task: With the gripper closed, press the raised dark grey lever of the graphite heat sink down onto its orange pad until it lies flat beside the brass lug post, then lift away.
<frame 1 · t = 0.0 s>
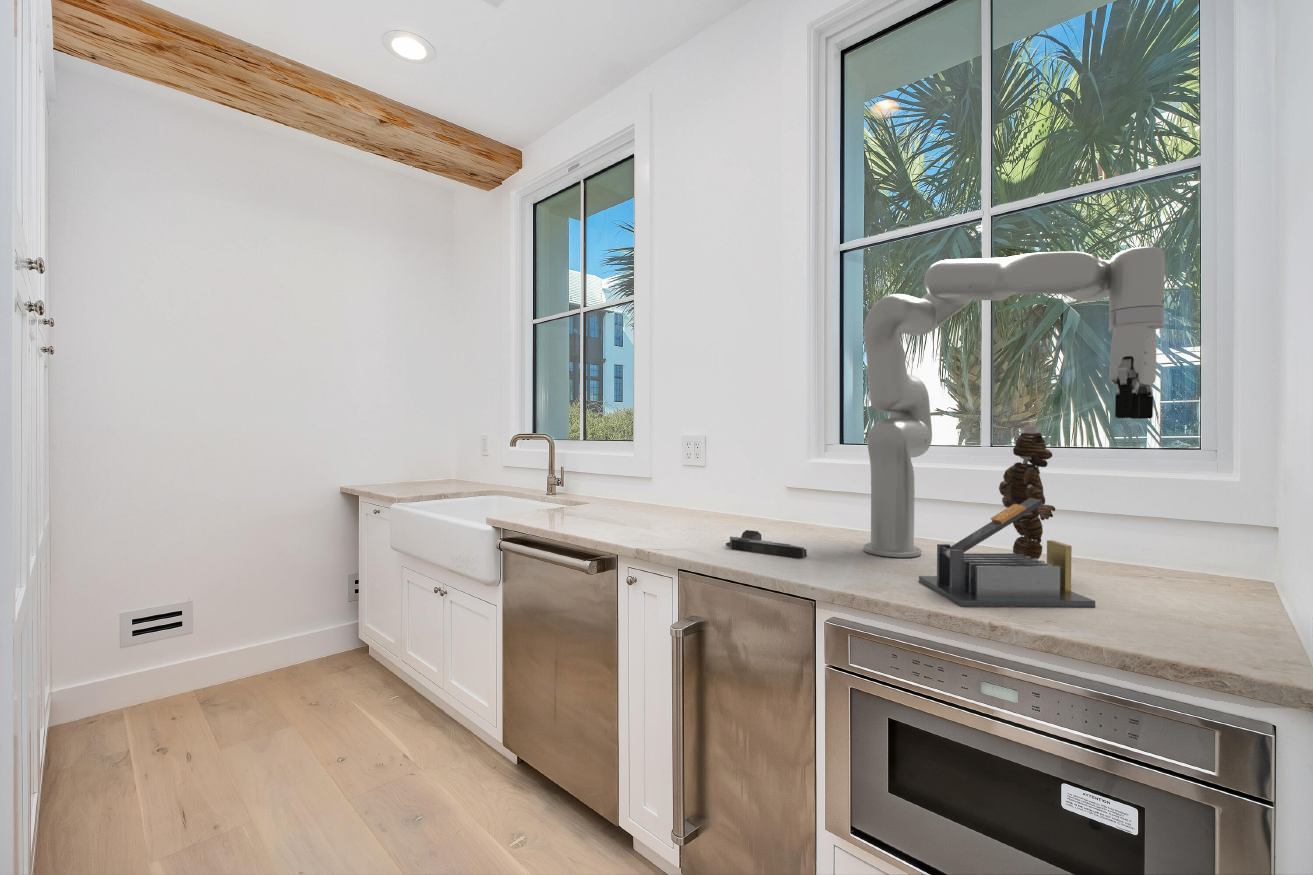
hand: (1134, 418, 104), 31 cm above the countertop, tool pointing down, fingers open, 9 cm apart
dark grey lever: (991, 527, 105), point 12 cm above the countertop, hinge at -32.0°
toy: (1028, 572, 121), on the countertop
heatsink: (1000, 593, 105), on the countertop
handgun: (770, 551, 144), on the countertop
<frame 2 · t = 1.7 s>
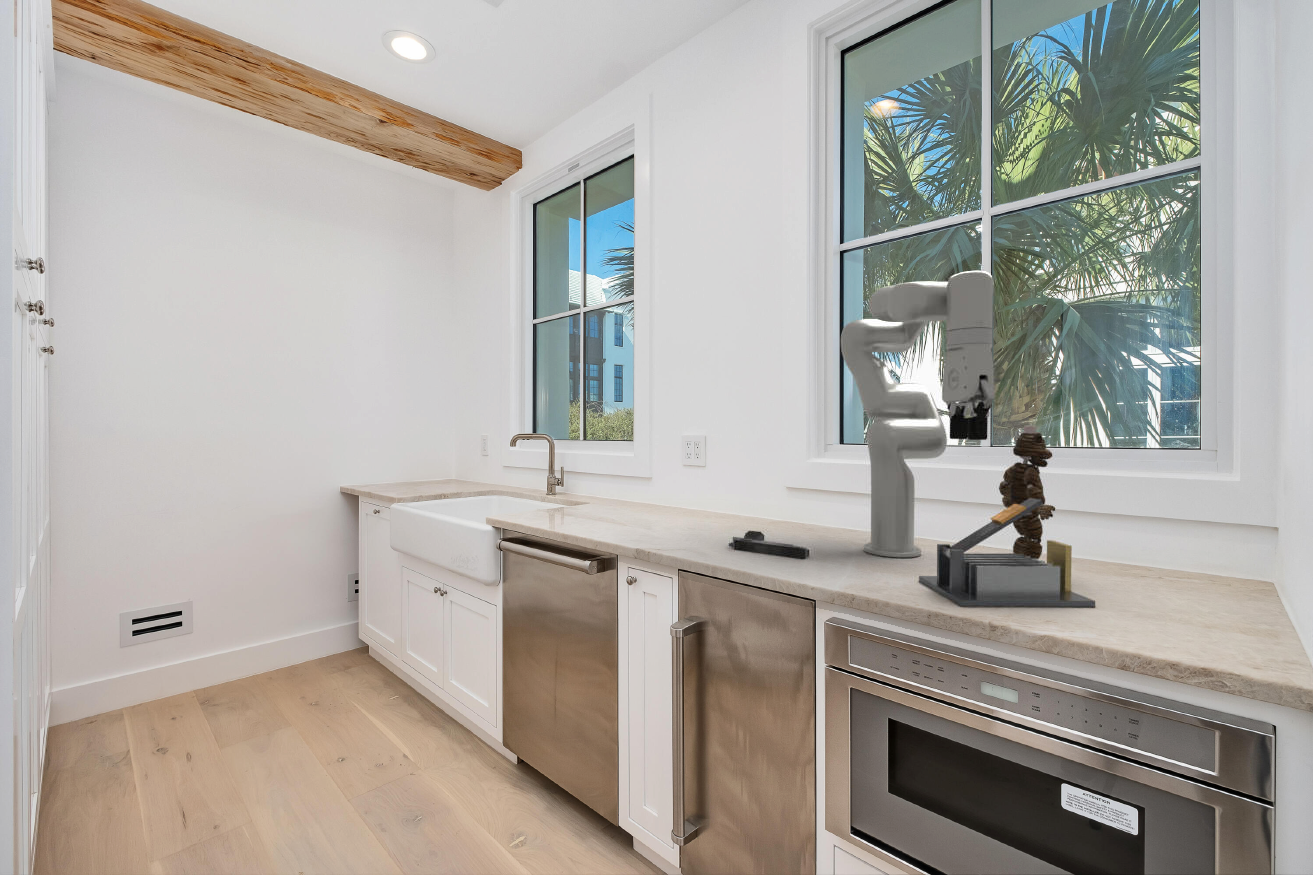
hand: (967, 438, 109), 28 cm above the countertop, tool pointing down, fingers open, 5 cm apart
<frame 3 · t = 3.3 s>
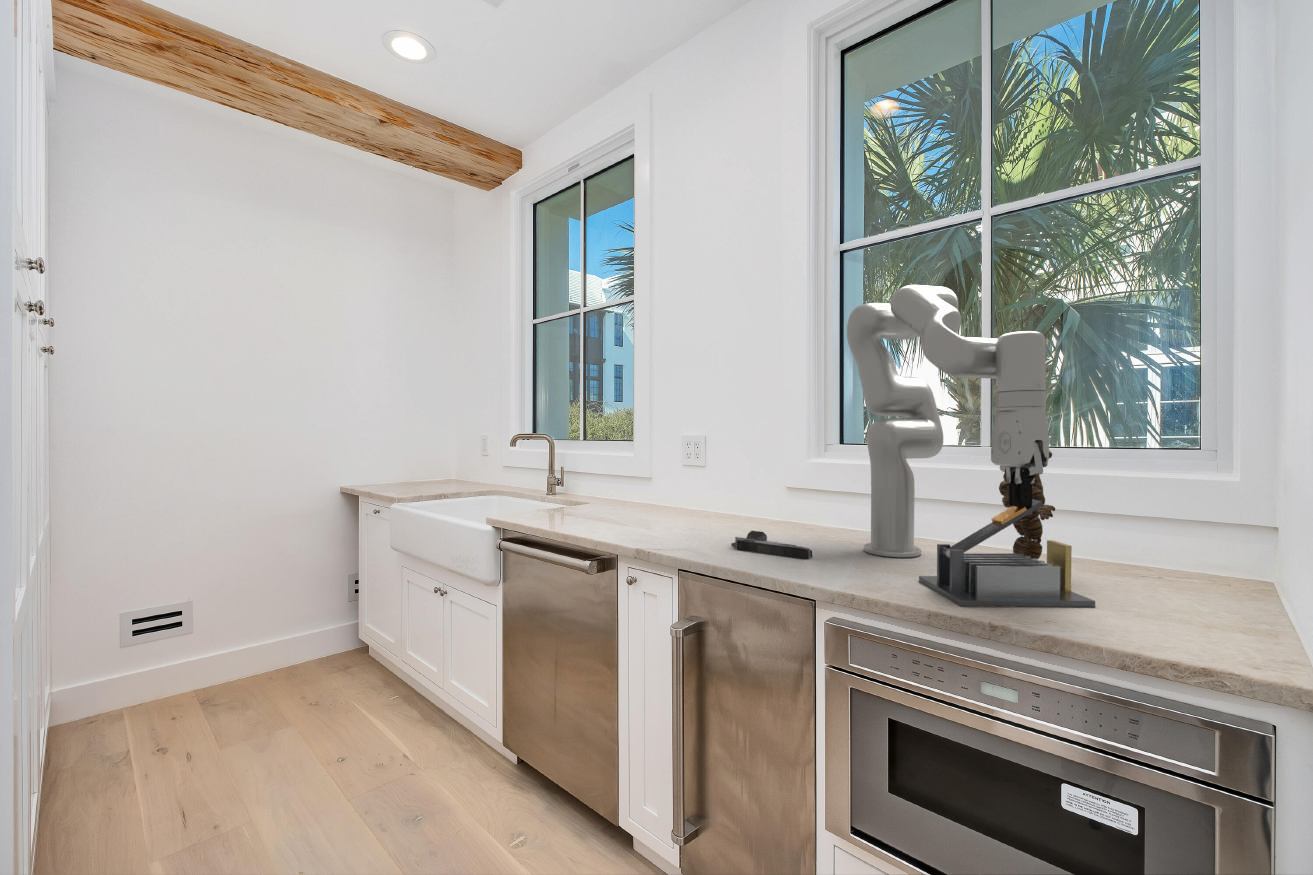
hand: (1020, 505, 105), 16 cm above the countertop, tool pointing down, fingers closed
dark grey lever: (991, 528, 105), point 12 cm above the countertop, hinge at -31.2°, touching gripper
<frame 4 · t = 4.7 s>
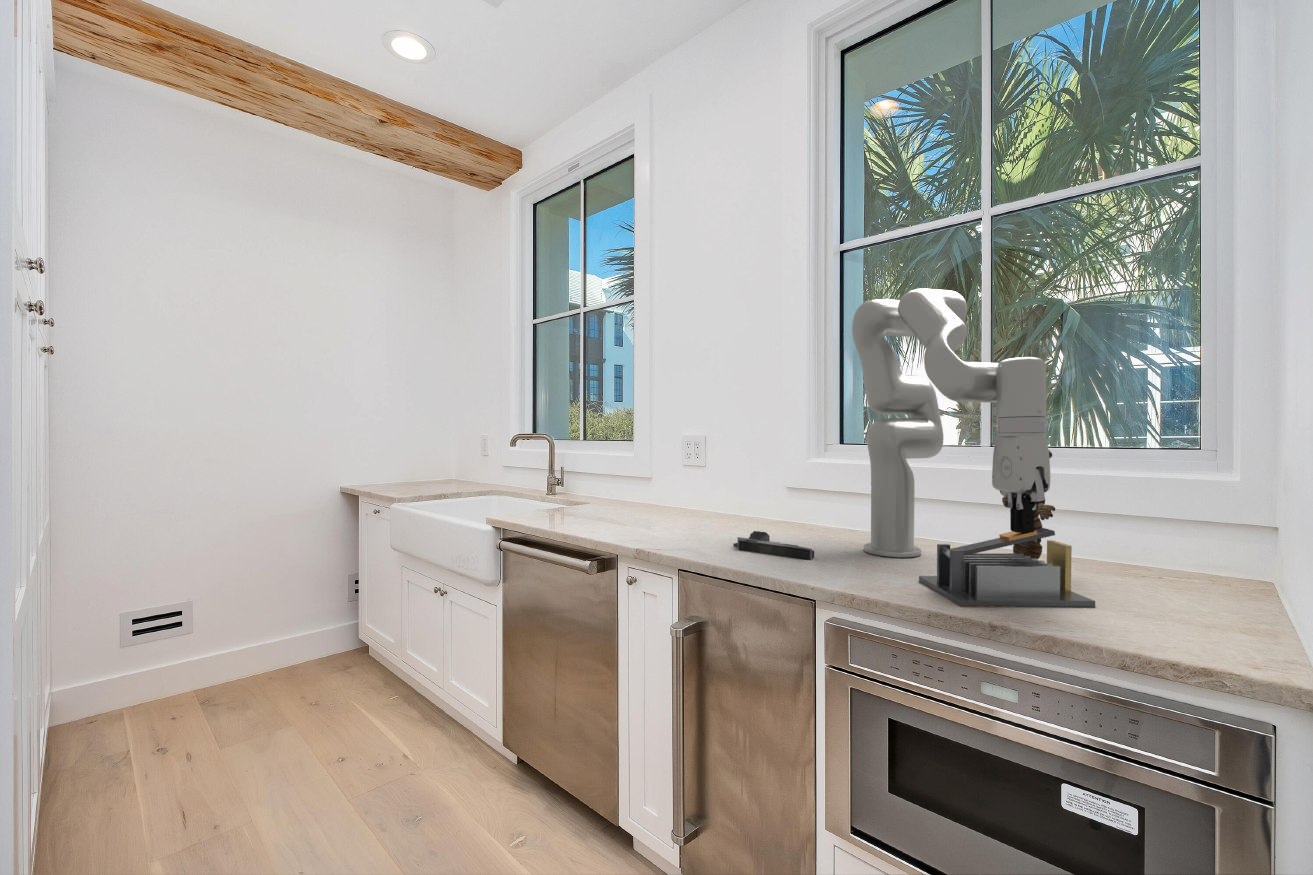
hand: (1022, 531, 104), 11 cm above the countertop, tool pointing down, fingers closed
dark grey lever: (997, 542, 105), point 9 cm above the countertop, hinge at -13.0°, touching gripper
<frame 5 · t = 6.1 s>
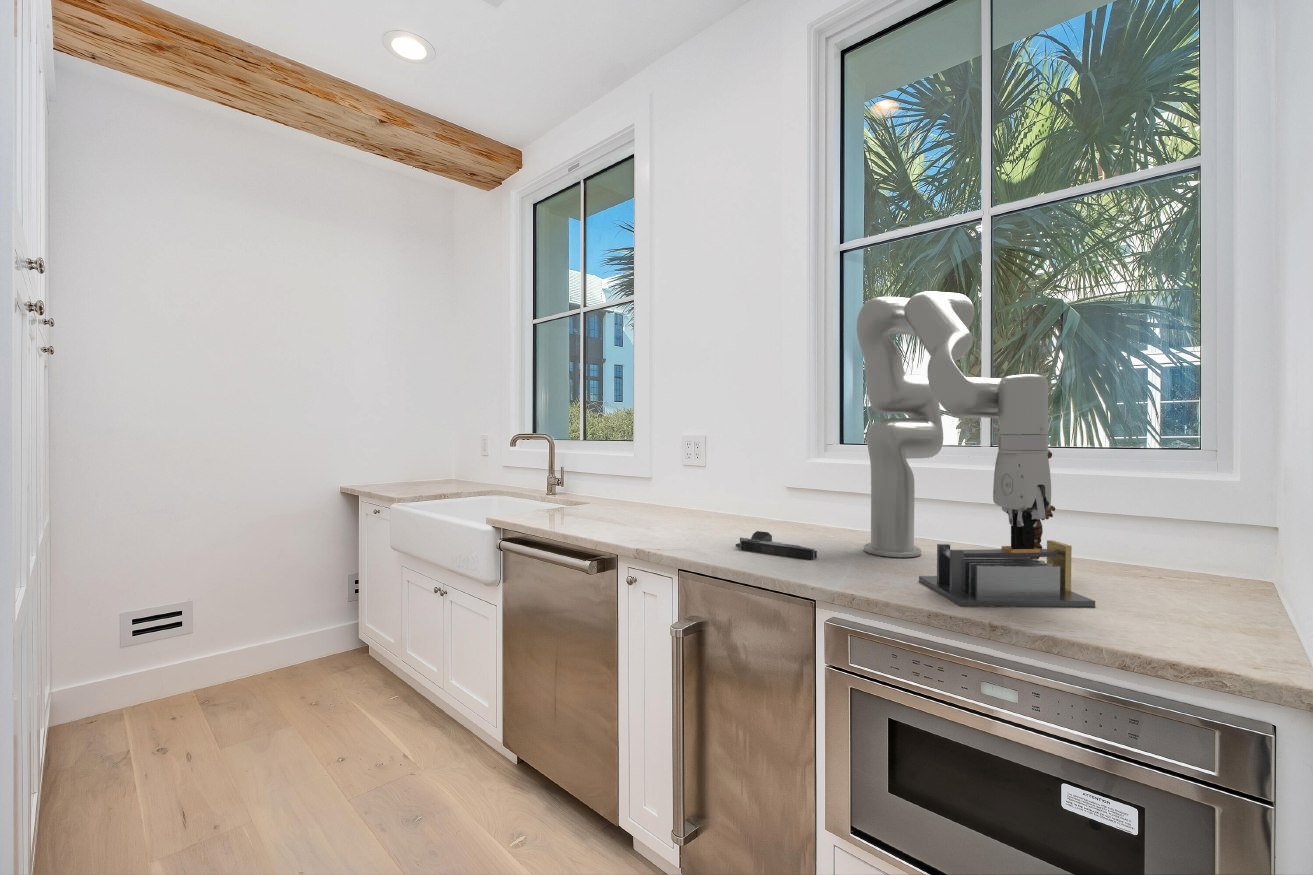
hand: (1022, 548, 105), 8 cm above the countertop, tool pointing down, fingers closed
dark grey lever: (998, 552, 105), point 7 cm above the countertop, hinge at -0.8°, touching gripper
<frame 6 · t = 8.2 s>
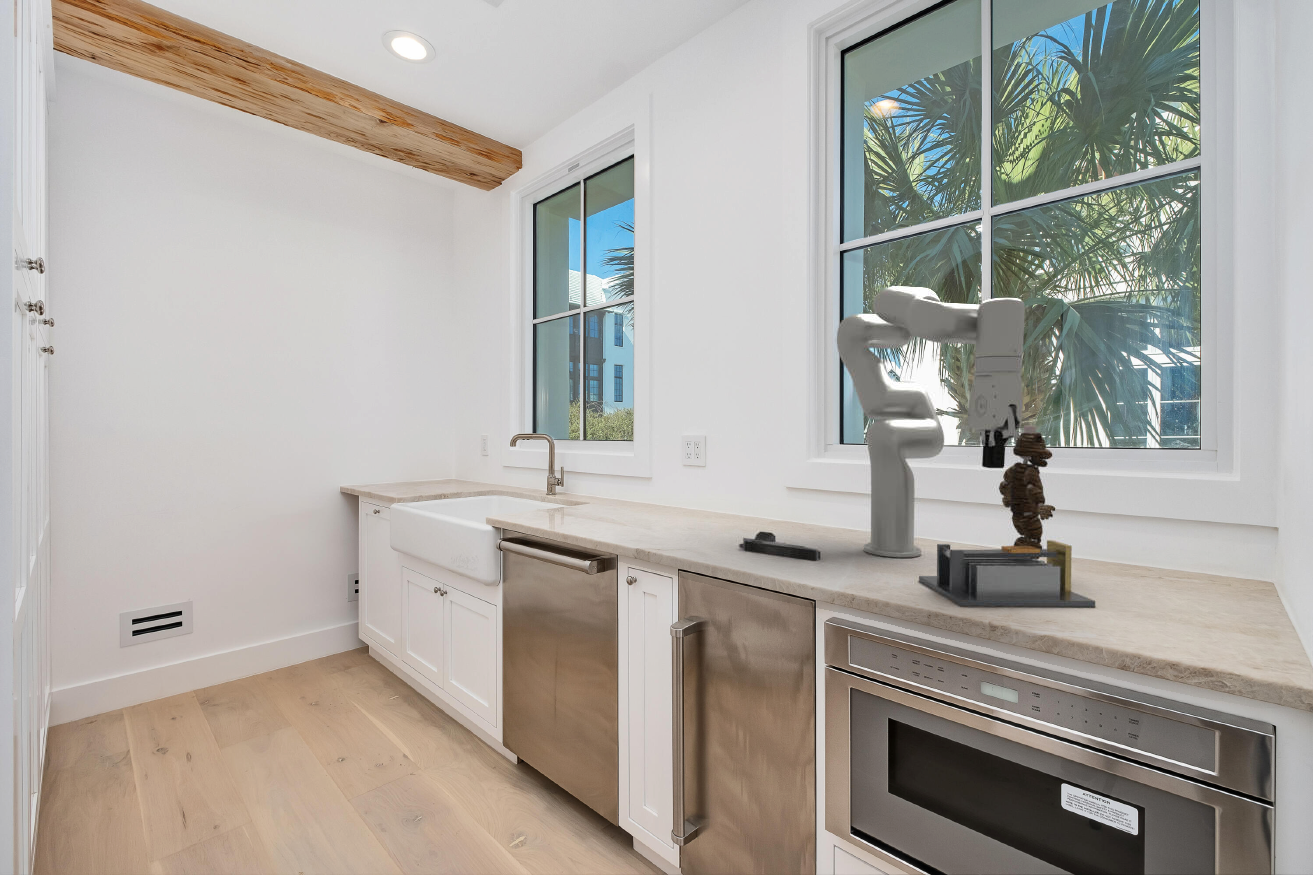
hand: (993, 467, 109), 22 cm above the countertop, tool pointing down, fingers closed
dark grey lever: (998, 552, 105), point 7 cm above the countertop, hinge at -0.7°
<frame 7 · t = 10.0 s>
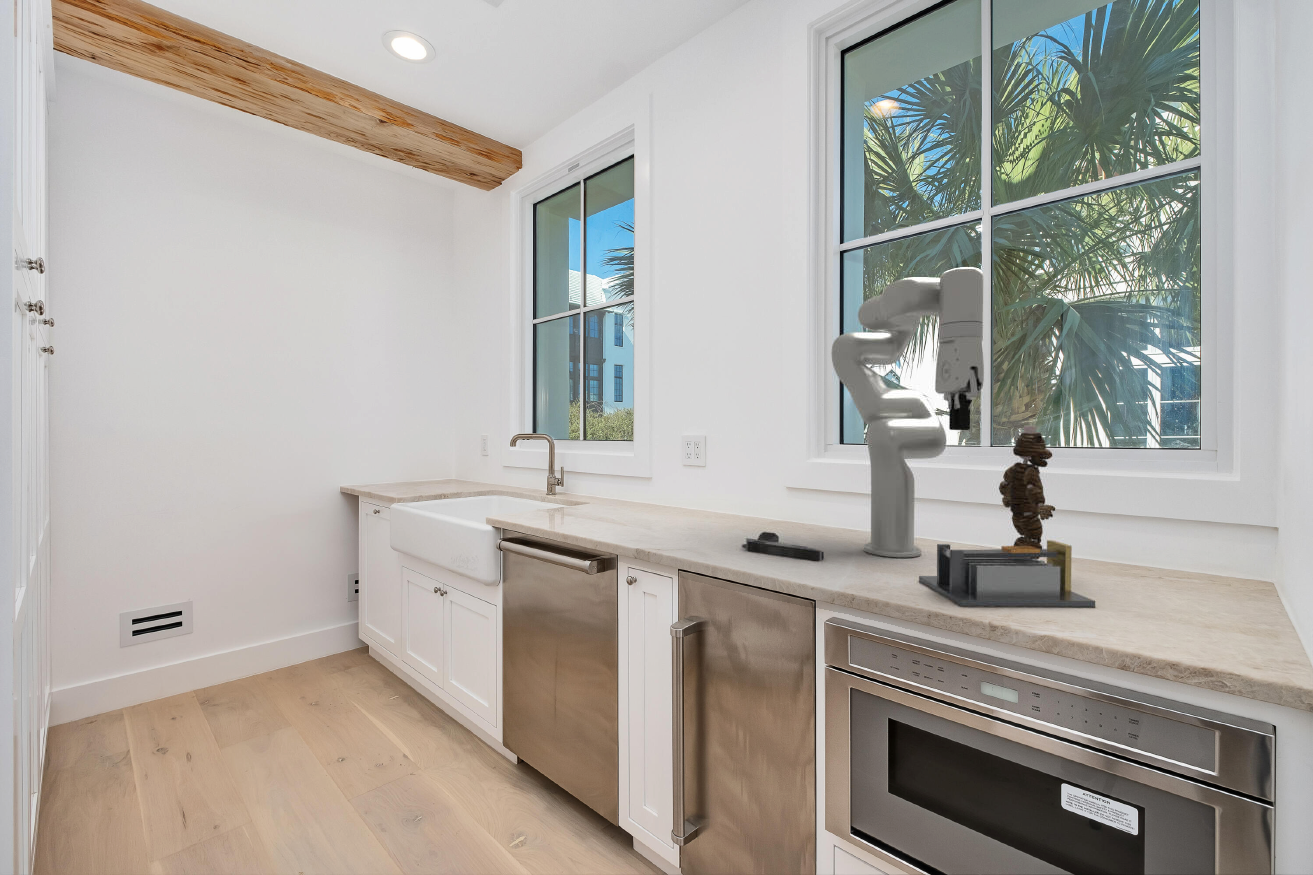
hand: (959, 429, 114), 29 cm above the countertop, tool pointing down, fingers closed
at the end: dark grey lever at -1° (first picture: -32°); dark grey lever touching nothing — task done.
